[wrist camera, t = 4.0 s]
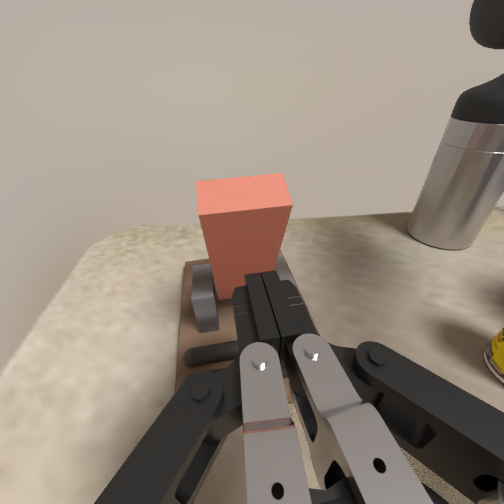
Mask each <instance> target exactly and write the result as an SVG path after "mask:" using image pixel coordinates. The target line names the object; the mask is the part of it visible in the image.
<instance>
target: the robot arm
mask: <svg viewBox="0 0 504 504" xmlns="http://www.w3.org/2000/svg"><path fill="white" fill-rule="evenodd" d="M469 24H470V31H471V34H472V36H473V38H474V40H475V41H476V42H477V43H478V44H480V45H482V46H484V47H487V48H492V49H504V0H474V2H473V5H472V8H471V12H470V22H469ZM503 192H504V74H502V75H500V76H499V77H497V78H495V79H493V80H491V81H489V82H487V83H484V84H482V85H479V86H476V87H473V88H471V89H468V90H466V91H465V92H463V93H462V94H461V95H460V96H459V98H458V100H457V102H456V104H455V107H454V109H453V111H452V115H451V117H450V119H449V122H448V124H447V127H446V130H445V132H444V135H443V137H442V140H441V142H440V145H439V147H438V150H437V153H436V155H435V157H434V160H433V163H432V165H431V168H430V170H429V173H428V175H427V178H426V180H425V183H424V185H423V188H422V190H421V193H420V195H419V198H418V200H417V203H416V205H415V207H414V210H413V212H412V215H411V217H410V220H409V222H408V225H407V231H408V232H409V234H410V235H411V236H413V237H414V238H415V239H417V240H419V241H421V242H423V243H425V244H428V245H431V246H434V247H438V248H443V249H451V250H458V249H465V248H467V247H470V245H471V244H472V243H473V241H474V240H475V238H476V236H477V235H478V233H479V231H480V230H481V228H482V226H483V225H484V223H485V222H486V220H487V218H488V217H489V215H490V213H491V212H492V210H493V209H494V207H495V205H496V203H497V202H498V200H499V199H500V197H501V195H502V194H503ZM244 280H245V286H240V287H235V289H234V291H233V294H232V303H233V312H234V320H235V327H236V334H237V341H238V348H239V351H238V354H237V356H236V358H235V360H234V361H233V362H232V363H231V364H230V365H229V366H227V367H226V368H224V369H222V370H220V371H218V372H217V373H215V374H214V373H212V372H209V371H199V372H196V373H194V374H192V375H191V376H189V377H188V378H187V379H186V380H185V381H184V382H183V384H182V385H181V387H180V388H179V389H178V391H177V392H176V393H175V395H174V396H173V397H172V399H171V400H170V401H169V403H168V404H167V405H166V407H165V408H164V410H163V411H162V412H161V414H160V415H159V416H158V418H157V419H156V420H155V422H154V423H153V424H152V426H151V427H150V428H149V430H148V431H147V433H146V434H145V435H144V437H143V438H142V439H141V441H140V442H139V443H138V445H137V446H136V447H135V449H134V450H133V451H132V453H131V454H130V456H129V457H128V458H127V460H126V461H125V462H124V464H123V465H122V466H121V468H120V469H119V470H118V472H117V473H116V474H115V476H114V477H113V479H112V480H111V481H110V483H109V484H108V485H107V487H106V488H105V489H104V491H103V492H102V493H101V495H100V496H99V497H98V499H97V500H96V502H95V503H94V504H193V502H194V500H195V498H196V496H197V494H198V492H199V490H200V488H201V486H202V484H203V482H204V480H205V478H206V476H207V474H208V472H209V470H210V468H211V467H212V465H213V463H214V461H215V459H216V457H217V455H218V453H219V451H220V449H221V447H222V445H223V443H224V441H225V439H226V437H227V435H228V434H229V433H231V432H232V431H234V430H235V429H237V428H238V427H240V426H241V425H243V437H244V455H245V473H246V490H247V504H449V503H448V502H447V501H446V500H444V499H443V498H442V497H441V496H440V495H438V494H437V493H436V492H435V491H433V490H432V489H431V488H429V487H428V486H426V485H425V484H423V483H422V482H420V480H419V479H418V477H417V475H416V474H415V472H414V470H413V469H412V467H411V465H410V464H409V462H408V460H407V459H406V457H405V455H404V454H403V452H402V451H401V449H400V447H401V448H403V449H404V450H405V451H407V452H408V453H409V454H411V455H412V456H413V457H415V458H416V459H417V460H419V461H420V462H421V463H423V464H424V465H425V466H426V467H428V468H429V469H430V470H432V471H433V472H434V473H436V474H437V475H438V476H440V477H441V478H442V479H444V480H445V481H446V482H448V483H449V484H450V485H452V486H453V487H454V488H456V489H457V490H458V491H459V492H461V493H462V494H463V495H465V496H466V497H467V498H469V499H470V500H471V501H473V502H474V503H475V504H504V413H503V412H502V411H500V410H498V409H496V408H494V407H493V406H491V405H489V404H487V403H486V402H484V401H482V400H480V399H478V398H477V397H475V396H473V395H471V394H470V393H468V392H466V391H464V390H462V389H461V388H459V387H457V386H455V385H454V384H452V383H450V382H448V381H446V380H445V379H443V378H441V377H439V376H438V375H436V374H434V373H432V372H431V371H429V370H427V369H425V368H423V367H422V366H420V365H418V364H416V363H415V362H413V361H411V360H409V359H407V358H406V357H404V356H402V355H400V354H399V353H397V352H395V351H393V350H391V349H390V348H388V347H386V346H384V345H382V344H380V343H377V342H372V341H368V342H363V343H361V344H360V345H359V346H358V347H357V349H354V348H347V347H339V346H335V345H332V344H330V343H328V342H327V341H326V340H325V339H323V338H322V337H320V335H319V334H318V332H317V331H316V328H315V326H314V324H313V322H312V320H311V318H310V315H309V313H308V311H307V309H306V307H305V305H304V303H303V300H302V298H301V297H300V294H299V291H298V289H297V287H296V286H295V285H294V284H293V283H292V282H291V281H290V280H289V279H288V280H281V281H280V278H279V276H278V273H277V271H276V270H273V271H266V272H259V273H252V274H245V275H244ZM284 370H286V372H287V375H288V378H289V391H290V394H291V397H292V400H293V402H294V405H295V408H296V411H297V413H298V416H299V419H300V422H301V424H302V427H303V430H304V433H305V436H306V438H307V441H308V445H309V449H310V455H311V460H312V464H313V468H314V471H315V474H316V476H317V479H318V482H319V485H320V488H321V490H319V489H310V488H308V483H307V478H306V474H305V469H304V464H303V459H302V454H301V450H300V445H299V440H298V435H297V431H296V428H295V425H294V422H293V421H292V419H291V416H290V411H289V406H288V401H287V396H286V391H285V386H284V381H283V376H282V371H284ZM398 445H399V446H400V447H399V446H398Z"/></svg>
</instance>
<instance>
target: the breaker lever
mask: <svg viewBox="0 0 504 504" xmlns="http://www.w3.org/2000/svg"><path fill="white" fill-rule="evenodd" d="M196 188H197V200H198V212H199V218H200V222H201V227H202V231H203V235H204V239H205V243H206V247H207V251H208V255H209V260H210V264H211V268H212V272H213V276H214V280H215V284H216V288H217V292H218V297H219V300H222V299H229V298H232V294H233V291H234V289H235V287H240V286H245V280H244V275H245V274H252V273H259V272H266V271H273V270H274V268H275V265H276V261H277V258H278V254H279V251H280V247H281V244H282V240H283V237H284V233H285V230H286V226H287V223H288V219H289V215H290V212H291V208H292V202H291V199H290V196H289V192H288V189H287V186H286V183H285V180H284V177H283V174H282V173H279V174H269V175H257V176H247V177H236V178H225V179H214V180H203V181H196Z"/></svg>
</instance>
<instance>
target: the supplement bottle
mask: <svg viewBox="0 0 504 504" xmlns="http://www.w3.org/2000/svg"><path fill="white" fill-rule="evenodd" d="M484 358H485V361H486V363H487V365H488V367H489V369H490V370H491V371H492V372H493V374H494V375H495V376H496V377H497V378H498V379H499V380H500V381H501V382H503V383H504V328H503V329H502V330H501V331H500V332H499V333H498V334H497V335H496V336H495V337H494V339H493V340H492V341H491V342H490V343H489V344H488V345H487V346H486V348H485V350H484Z"/></svg>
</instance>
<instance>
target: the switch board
mask: <svg viewBox="0 0 504 504" xmlns="http://www.w3.org/2000/svg"><path fill="white" fill-rule="evenodd" d="M274 270H276V271H277V273H278V276H279V278H280V281H281V280H288V279H289V280H290V281H291V282H292V283H293V284H294V285H295V286H296V287H297V284H296V282H295V280H294V278H293V276H292V273H291V271H290V269H289V267H288V265H287V263H286V260H285V258H284V256H283V254H282V252H281V249H280V251H279V254H278V258H277V261H276V265H275V268H274ZM297 289H298V287H297ZM298 291H299V289H298ZM299 294H300V297H301V298H302V295H301V293H300V291H299ZM302 300H303V298H302ZM303 303H304V305H305V307H306V309H307V311H308V308H307V306H306V304H305V302H304V300H303ZM308 313H309V311H308ZM309 315H310V313H309ZM310 318H311V320H312V322H313V319H312V317H311V315H310ZM313 324H314V322H313ZM314 326H315V324H314ZM315 328H316V326H315ZM316 331H317V332H318V330H317V328H316ZM318 334H319V333H318ZM238 351H239V348H238V341H237V334H236V327H235V320H234V312H233V303H232V298H229V299H222V300H219V297H218V292H217V288H216V284H215V280H214V276H213V272H212V268H211V264H210V260H209V259H203V260H195V261H187V262H185V272H184V284H183V297H182V310H181V323H180V335H179V348H178V361H177V374H176V387H175V393H176V392H177V391H178V389H179V388H180V387H181V385H182V384H183V382H184V381H185V380H186V379H187V378H188V377H189V376H191V375H192V374H194V373H196V372H199V371H209V372H212V373H214V374H215V373H217V372H218V371H220V370H222V369H224V368H226V367H227V366H229V365H230V364H231V363H232V362H233V361H234V360H235V358H236V356H237V354H238ZM282 376H283V381H284V386H285V391H286V396H287V401H288V404H291V403H294V402H293V400H292V397H291V394H290V391H289V378H288V375H287V372H286V370H284V371H282Z"/></svg>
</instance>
